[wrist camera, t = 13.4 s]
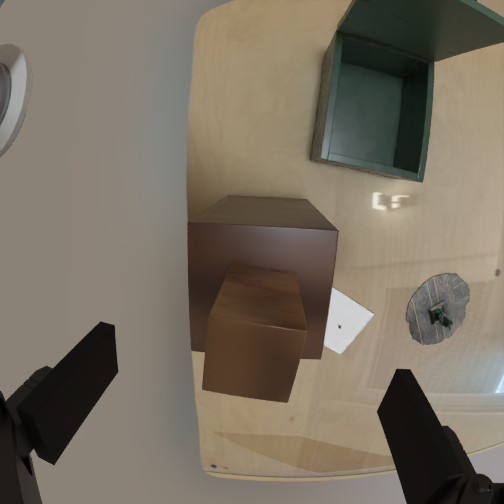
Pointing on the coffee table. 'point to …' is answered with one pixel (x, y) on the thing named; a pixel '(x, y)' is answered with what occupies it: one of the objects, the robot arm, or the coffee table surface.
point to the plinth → (262, 257)
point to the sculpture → (437, 308)
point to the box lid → (425, 25)
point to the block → (255, 334)
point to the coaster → (344, 321)
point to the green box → (374, 108)
